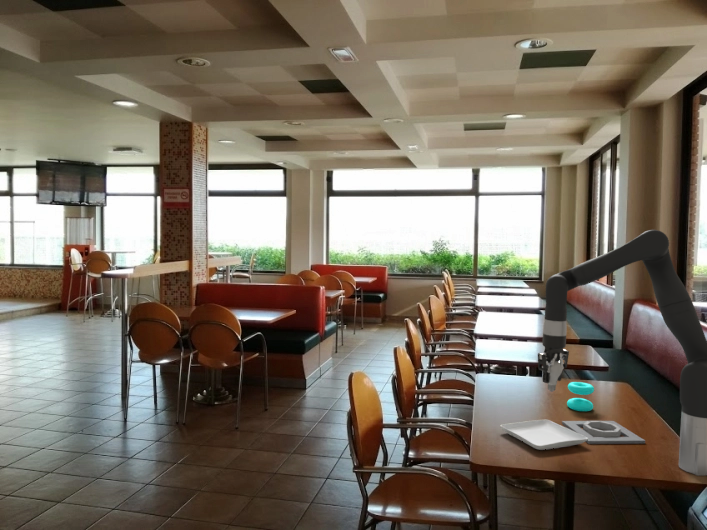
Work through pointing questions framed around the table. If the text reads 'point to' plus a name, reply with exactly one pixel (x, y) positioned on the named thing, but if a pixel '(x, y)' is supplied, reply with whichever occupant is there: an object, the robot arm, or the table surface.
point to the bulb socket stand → (603, 432)
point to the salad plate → (543, 434)
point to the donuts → (580, 403)
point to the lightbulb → (554, 375)
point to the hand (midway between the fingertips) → (552, 381)
